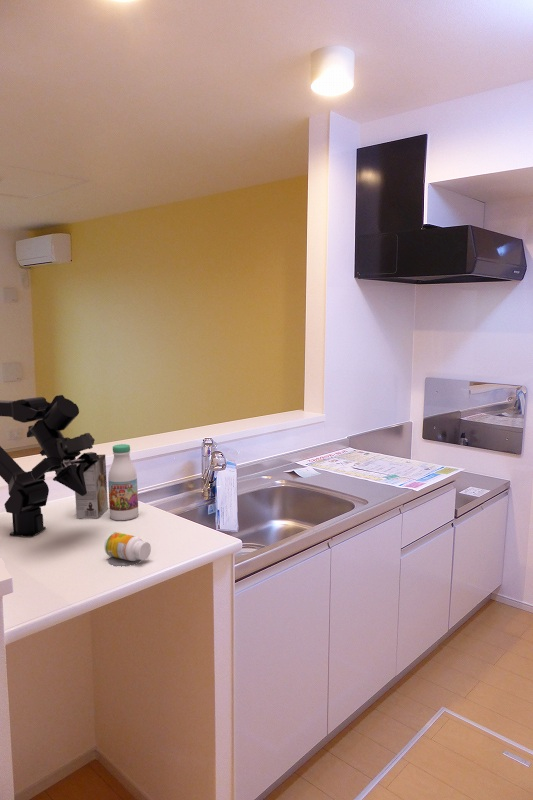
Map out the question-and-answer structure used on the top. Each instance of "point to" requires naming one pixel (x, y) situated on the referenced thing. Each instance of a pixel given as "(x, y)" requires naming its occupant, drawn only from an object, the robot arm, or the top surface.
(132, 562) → the coaster
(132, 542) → the supplement bottle
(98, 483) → the coffee box
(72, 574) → the top surface
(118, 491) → the milk bottle
